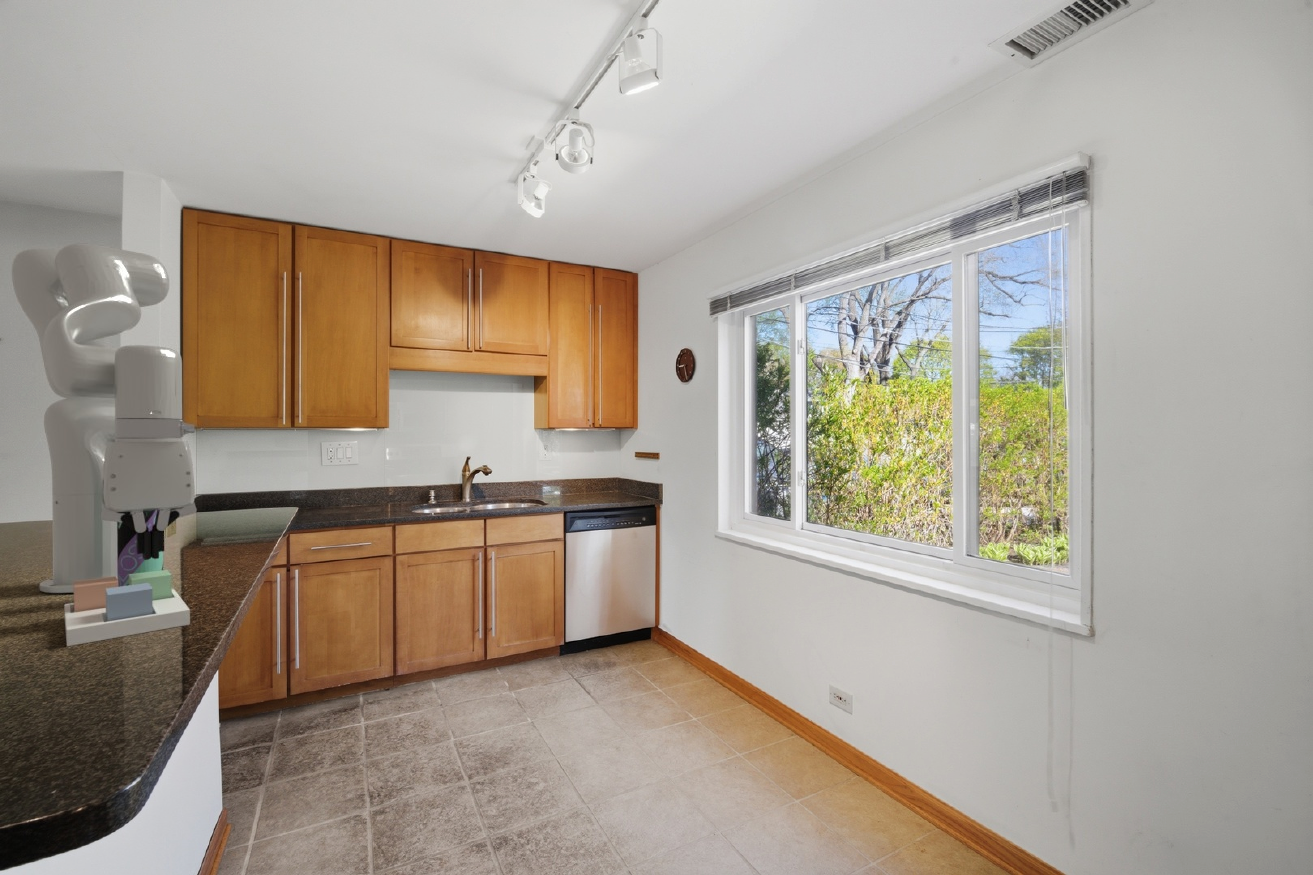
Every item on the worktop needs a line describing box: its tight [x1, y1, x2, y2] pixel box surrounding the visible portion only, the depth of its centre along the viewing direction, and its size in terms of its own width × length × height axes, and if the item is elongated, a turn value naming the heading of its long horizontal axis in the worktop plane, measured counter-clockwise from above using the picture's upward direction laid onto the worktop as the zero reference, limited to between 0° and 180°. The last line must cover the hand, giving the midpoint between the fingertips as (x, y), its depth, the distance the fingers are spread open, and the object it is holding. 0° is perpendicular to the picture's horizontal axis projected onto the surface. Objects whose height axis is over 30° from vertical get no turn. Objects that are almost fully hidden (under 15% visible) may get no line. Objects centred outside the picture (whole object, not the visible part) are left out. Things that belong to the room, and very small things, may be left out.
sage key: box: [129, 569, 173, 601], centre depth 88 cm, size 4×4×4 cm
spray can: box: [117, 510, 164, 587], centre depth 95 cm, size 6×6×20 cm
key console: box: [64, 588, 191, 647], centre depth 83 cm, size 15×12×2 cm
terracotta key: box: [73, 576, 118, 612], centre depth 84 cm, size 4×4×4 cm
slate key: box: [106, 583, 153, 621], centre depth 81 cm, size 4×4×4 cm
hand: (150, 557), depth 88 cm, fingers closed
